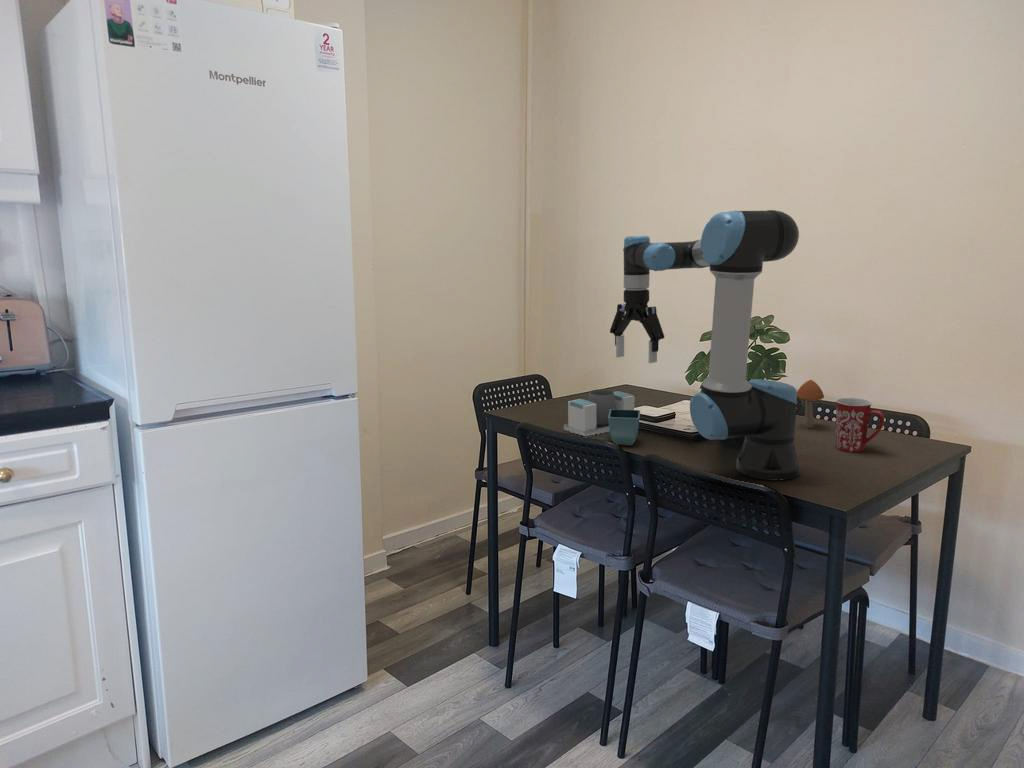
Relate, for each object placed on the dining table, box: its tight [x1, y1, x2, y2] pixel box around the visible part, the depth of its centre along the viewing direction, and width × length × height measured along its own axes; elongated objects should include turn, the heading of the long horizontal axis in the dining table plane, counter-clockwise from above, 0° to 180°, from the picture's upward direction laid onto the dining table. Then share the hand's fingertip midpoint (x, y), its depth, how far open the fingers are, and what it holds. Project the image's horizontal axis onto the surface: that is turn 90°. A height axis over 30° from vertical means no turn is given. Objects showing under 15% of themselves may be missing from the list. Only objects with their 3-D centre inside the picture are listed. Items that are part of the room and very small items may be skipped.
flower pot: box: [608, 409, 641, 446], centre depth 204 cm, size 9×9×9 cm
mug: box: [835, 397, 885, 453], centre depth 193 cm, size 13×9×14 cm
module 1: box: [567, 398, 596, 432], centre depth 216 cm, size 8×5×8 cm, turn 34°
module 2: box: [613, 390, 635, 410], centre depth 224 cm, size 8×5×8 cm, turn 34°
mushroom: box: [796, 379, 825, 429], centre depth 214 cm, size 8×8×15 cm
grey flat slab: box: [563, 423, 610, 437], centre depth 221 cm, size 10×22×2 cm, turn 124°
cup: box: [587, 388, 616, 426], centre depth 220 cm, size 10×9×10 cm
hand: (636, 359), depth 214 cm, fingers open, 13 cm apart
